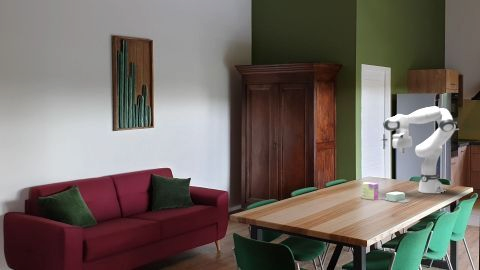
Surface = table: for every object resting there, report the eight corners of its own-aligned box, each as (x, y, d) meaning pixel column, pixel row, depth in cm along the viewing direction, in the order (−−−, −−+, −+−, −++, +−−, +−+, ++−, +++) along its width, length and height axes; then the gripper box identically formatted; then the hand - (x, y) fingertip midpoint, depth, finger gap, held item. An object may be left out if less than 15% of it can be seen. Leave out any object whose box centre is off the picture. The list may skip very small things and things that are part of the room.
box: (378, 199, 385) (378, 183, 385) (373, 200, 381) (373, 184, 381) (366, 197, 393) (366, 182, 392) (362, 198, 389) (362, 182, 389)
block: (395, 191, 386) (385, 193, 379) (405, 192, 380) (394, 194, 372) (395, 198, 386) (385, 200, 379) (405, 199, 380) (394, 201, 373)
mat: (388, 197, 390) (388, 197, 390) (411, 201, 374) (411, 201, 374) (380, 199, 385) (380, 198, 385) (403, 203, 369) (403, 202, 369)
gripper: (407, 134, 403) (407, 152, 403) (390, 135, 390) (390, 153, 391) (414, 134, 398) (414, 152, 398) (398, 135, 385) (397, 154, 386)
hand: (402, 153), depth 395 cm, fingers closed
